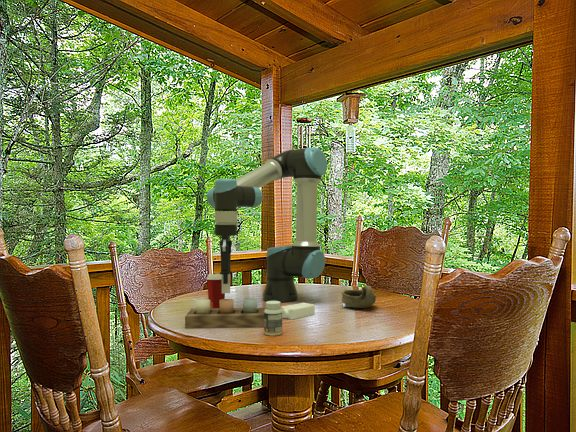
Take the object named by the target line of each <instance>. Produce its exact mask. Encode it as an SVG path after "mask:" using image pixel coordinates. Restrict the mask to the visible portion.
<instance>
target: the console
mask: <svg viewBox="0 0 576 432" xmlns="http://www.w3.org/2000/svg"><path fill="white" fill-rule="evenodd" d="M265 309H266V308H265V307H257V313H243V307H234V313H233V314H220V308H210V314H196V308H190V310H189V311H188V313H187V314H185V316H184V329H230V328H231V329H235V328H236V329H237V328H239V329H240V328H241V329H242V328H243V329H244V328H246V329H248V328H264V310H265Z"/></svg>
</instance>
